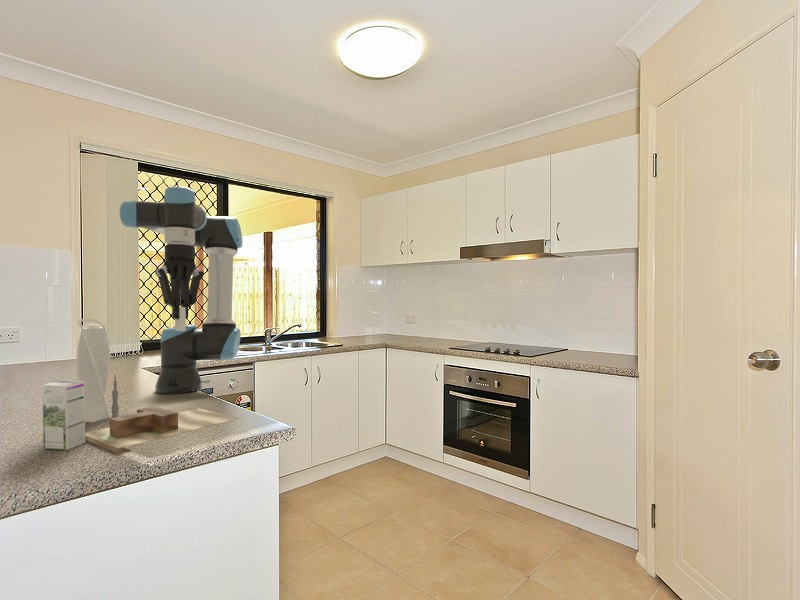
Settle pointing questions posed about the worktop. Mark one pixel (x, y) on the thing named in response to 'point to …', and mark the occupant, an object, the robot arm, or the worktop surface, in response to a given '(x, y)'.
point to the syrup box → (63, 415)
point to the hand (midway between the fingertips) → (180, 330)
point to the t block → (144, 422)
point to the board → (185, 423)
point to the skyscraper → (95, 371)
